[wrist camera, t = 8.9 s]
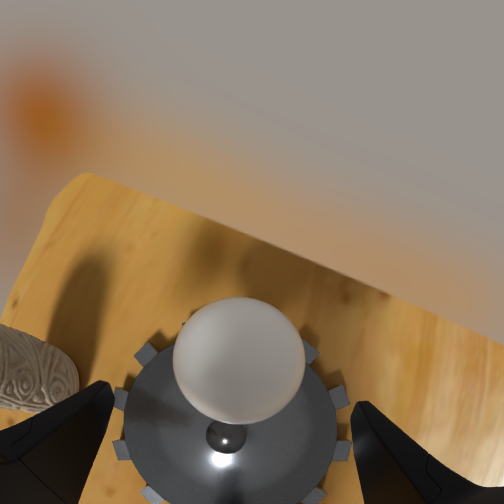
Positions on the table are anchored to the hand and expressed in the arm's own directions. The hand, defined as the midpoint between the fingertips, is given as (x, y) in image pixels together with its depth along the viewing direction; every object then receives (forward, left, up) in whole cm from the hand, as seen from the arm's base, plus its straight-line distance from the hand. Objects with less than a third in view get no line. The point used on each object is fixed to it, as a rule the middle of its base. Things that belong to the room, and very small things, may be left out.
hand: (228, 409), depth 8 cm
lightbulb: (+2, -1, -12) cm, 12 cm away
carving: (+9, +16, -14) cm, 23 cm away
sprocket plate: (-2, +3, -13) cm, 14 cm away
